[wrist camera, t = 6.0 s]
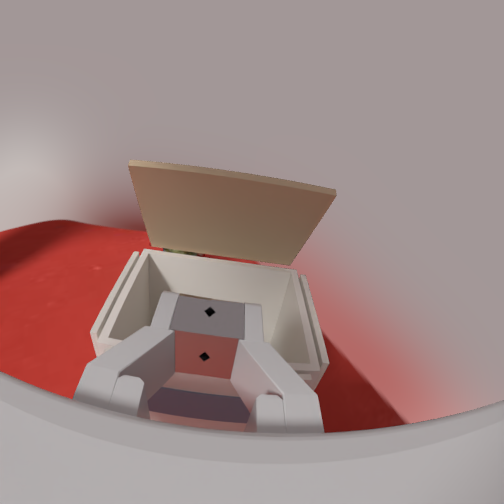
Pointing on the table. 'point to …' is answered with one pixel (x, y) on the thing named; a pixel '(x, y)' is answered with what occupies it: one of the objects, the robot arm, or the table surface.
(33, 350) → the table surface
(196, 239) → the flap
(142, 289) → the carton
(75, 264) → the table surface
